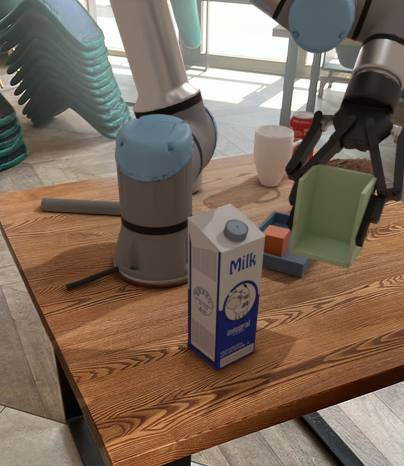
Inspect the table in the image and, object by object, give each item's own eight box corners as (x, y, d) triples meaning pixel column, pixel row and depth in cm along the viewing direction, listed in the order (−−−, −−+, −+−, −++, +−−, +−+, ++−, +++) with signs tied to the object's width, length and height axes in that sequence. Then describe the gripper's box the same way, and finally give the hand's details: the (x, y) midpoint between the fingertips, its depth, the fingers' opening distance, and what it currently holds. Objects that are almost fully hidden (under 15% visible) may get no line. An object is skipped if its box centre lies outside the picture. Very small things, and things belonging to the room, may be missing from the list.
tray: (301, 277, 97) (303, 264, 95) (236, 260, 101) (237, 247, 100) (332, 236, 109) (334, 224, 107) (272, 222, 113) (274, 210, 111)
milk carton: (224, 329, 85) (231, 201, 72) (255, 351, 81) (267, 220, 68) (186, 347, 81) (186, 216, 69) (216, 371, 77) (222, 236, 65)
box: (305, 233, 88) (315, 162, 81) (362, 248, 85) (379, 175, 78) (288, 253, 83) (298, 179, 76) (349, 269, 80) (365, 193, 73)
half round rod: (136, 216, 114) (135, 208, 113) (40, 211, 115) (38, 202, 114) (139, 207, 117) (139, 199, 116) (46, 202, 118) (45, 194, 117)
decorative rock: (376, 198, 123) (387, 151, 117) (372, 220, 115) (383, 171, 108) (315, 190, 126) (322, 144, 120) (307, 210, 118) (314, 162, 111)
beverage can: (310, 162, 139) (317, 110, 131) (311, 172, 134) (319, 119, 126) (284, 161, 139) (290, 109, 132) (284, 171, 134) (290, 117, 127)
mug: (249, 188, 126) (252, 135, 119) (253, 174, 132) (257, 123, 125) (303, 193, 124) (311, 140, 117) (305, 179, 131) (312, 127, 123)
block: (269, 224, 102) (261, 233, 99) (290, 229, 101) (283, 238, 98) (267, 244, 105) (259, 254, 102) (288, 249, 103) (281, 259, 101)
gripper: (454, 112, 80) (403, 262, 79) (305, 90, 87) (257, 228, 86) (460, 79, 73) (404, 243, 72) (298, 59, 80) (245, 208, 79)
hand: (324, 235), depth 79 cm, fingers closed on box, 9 cm apart
